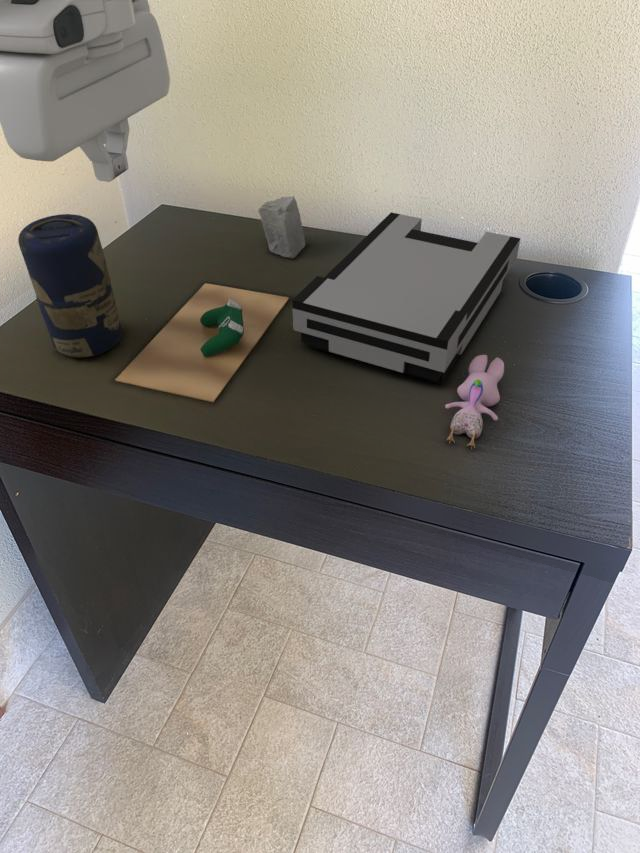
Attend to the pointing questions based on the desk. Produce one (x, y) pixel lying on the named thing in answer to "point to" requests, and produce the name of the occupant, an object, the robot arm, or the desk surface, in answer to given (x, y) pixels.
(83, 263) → the canister
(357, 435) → the desk surface
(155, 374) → the cork mat
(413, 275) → the game console
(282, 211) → the mineral specimen
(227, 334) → the gaming controller
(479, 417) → the rabbit figure
